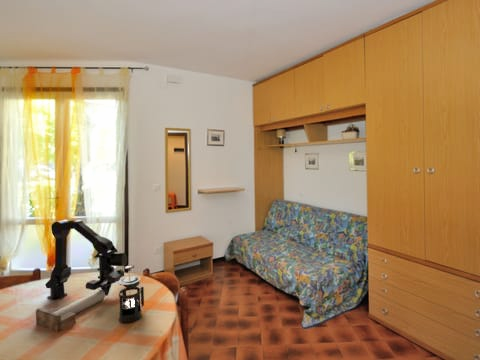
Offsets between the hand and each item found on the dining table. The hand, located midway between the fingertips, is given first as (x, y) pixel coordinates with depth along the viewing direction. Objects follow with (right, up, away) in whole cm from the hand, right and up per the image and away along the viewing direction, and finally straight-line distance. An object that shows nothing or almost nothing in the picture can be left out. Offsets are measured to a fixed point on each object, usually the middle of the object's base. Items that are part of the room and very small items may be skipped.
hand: (106, 295), depth 136 cm
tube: (-7, -2, -13) cm, 15 cm away
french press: (+20, -2, -18) cm, 27 cm away
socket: (-10, -2, -23) cm, 25 cm away
